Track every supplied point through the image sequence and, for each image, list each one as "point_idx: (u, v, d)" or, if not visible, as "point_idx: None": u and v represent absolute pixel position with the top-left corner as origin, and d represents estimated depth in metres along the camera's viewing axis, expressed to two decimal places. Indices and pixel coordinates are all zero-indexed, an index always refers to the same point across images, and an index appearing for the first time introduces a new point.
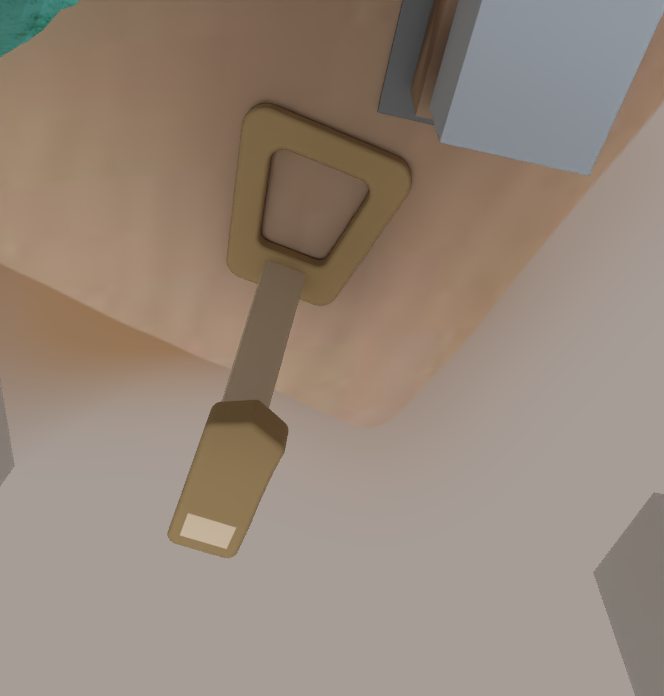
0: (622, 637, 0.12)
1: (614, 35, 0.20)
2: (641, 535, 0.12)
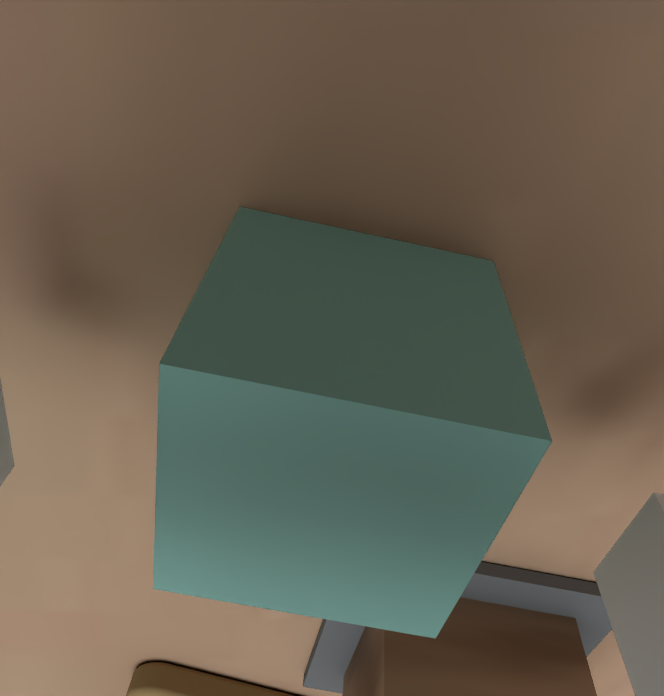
0: (622, 637, 0.12)
1: None
2: (641, 535, 0.12)
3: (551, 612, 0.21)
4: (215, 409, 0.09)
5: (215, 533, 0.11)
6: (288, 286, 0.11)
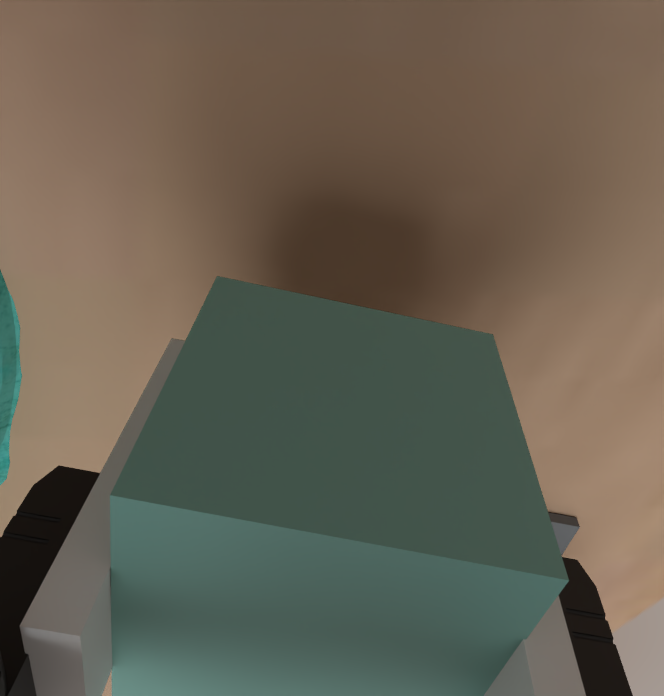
0: None
1: None
2: None
3: None
4: (178, 542, 0.08)
5: (181, 664, 0.09)
6: (266, 380, 0.10)
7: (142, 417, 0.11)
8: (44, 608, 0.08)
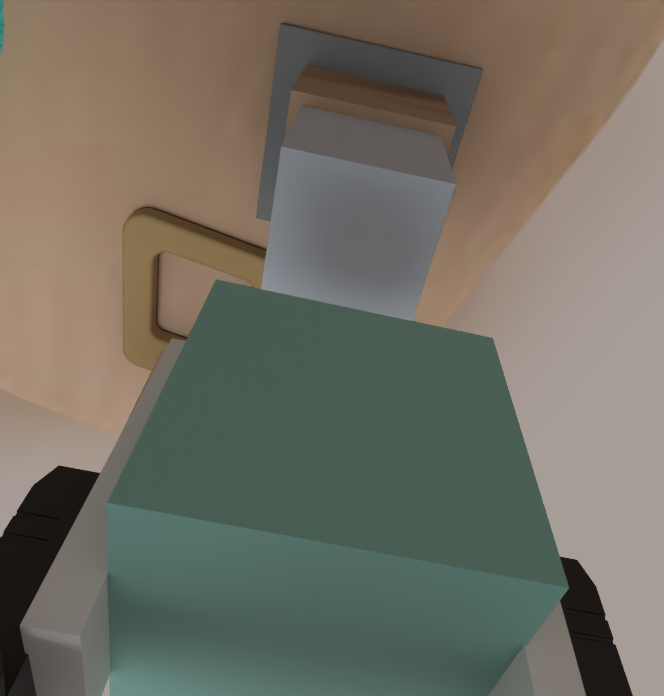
0: None
1: (409, 212, 0.21)
2: None
3: (426, 90, 0.29)
4: (175, 550, 0.08)
5: (180, 671, 0.09)
6: (265, 385, 0.10)
7: (142, 417, 0.11)
8: (44, 608, 0.08)
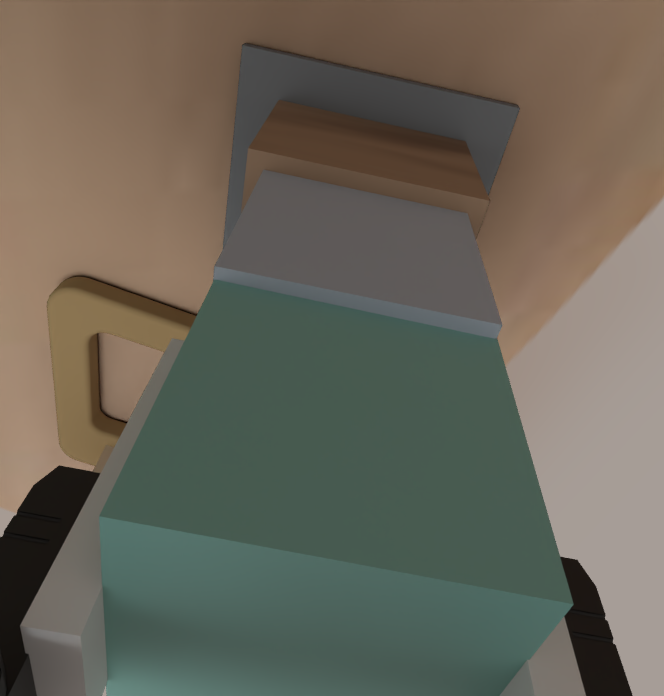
0: None
1: None
2: None
3: (442, 133, 0.22)
4: (170, 562, 0.08)
5: (176, 680, 0.09)
6: (264, 390, 0.10)
7: (142, 417, 0.11)
8: (44, 608, 0.08)
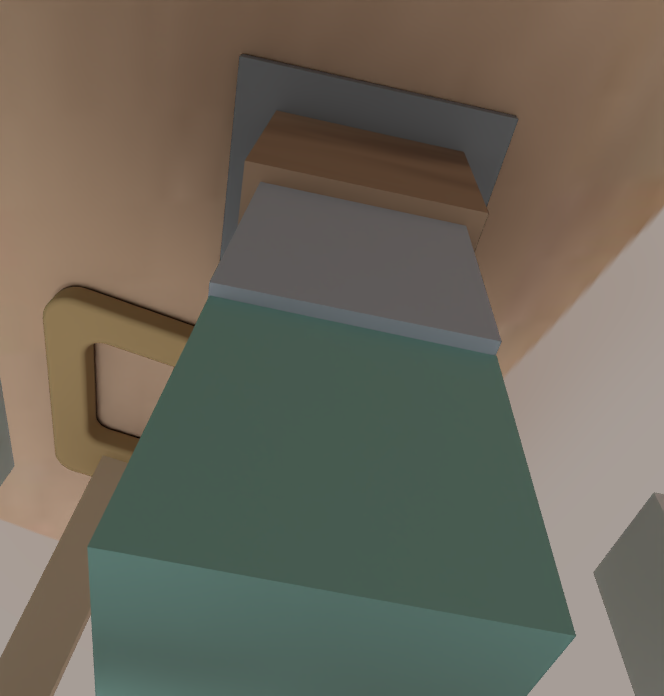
0: (622, 637, 0.12)
1: None
2: (641, 535, 0.12)
3: (440, 144, 0.21)
4: (160, 593, 0.07)
5: None
6: (258, 411, 0.09)
7: None
8: None
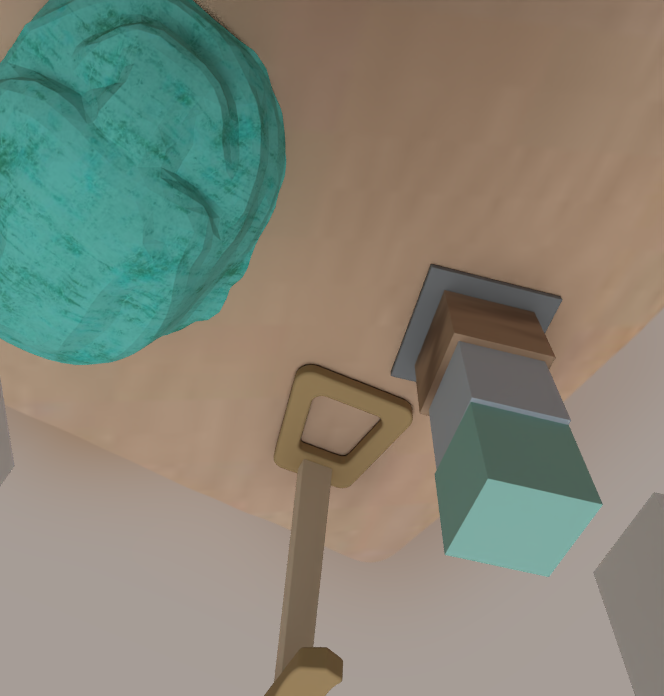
0: (622, 637, 0.12)
1: None
2: (641, 535, 0.12)
3: (523, 308, 0.44)
4: (499, 492, 0.29)
5: (480, 532, 0.31)
6: (506, 444, 0.31)
7: None
8: None
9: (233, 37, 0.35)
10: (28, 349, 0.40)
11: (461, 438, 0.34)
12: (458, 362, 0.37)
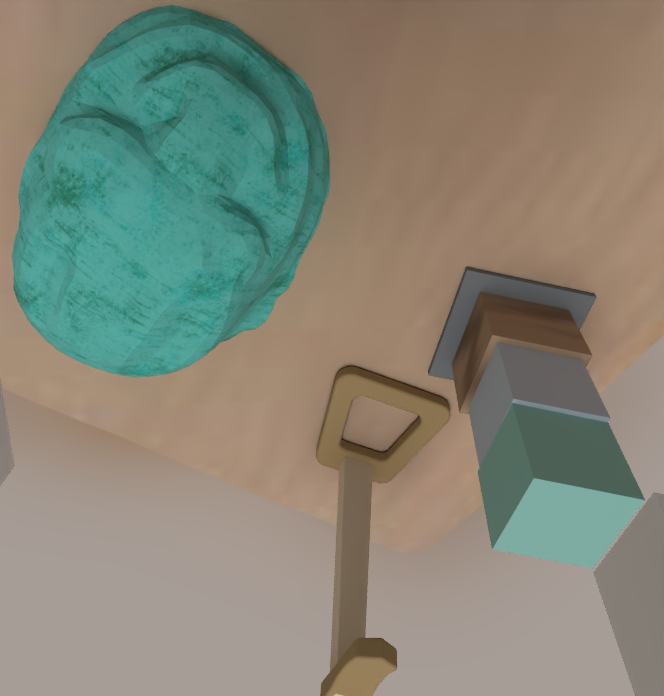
0: (622, 637, 0.12)
1: None
2: (641, 535, 0.12)
3: (557, 306, 0.45)
4: (545, 490, 0.30)
5: (526, 528, 0.32)
6: (549, 444, 0.32)
7: None
8: None
9: (279, 64, 0.37)
10: (91, 364, 0.43)
11: (504, 438, 0.35)
12: (497, 363, 0.39)
